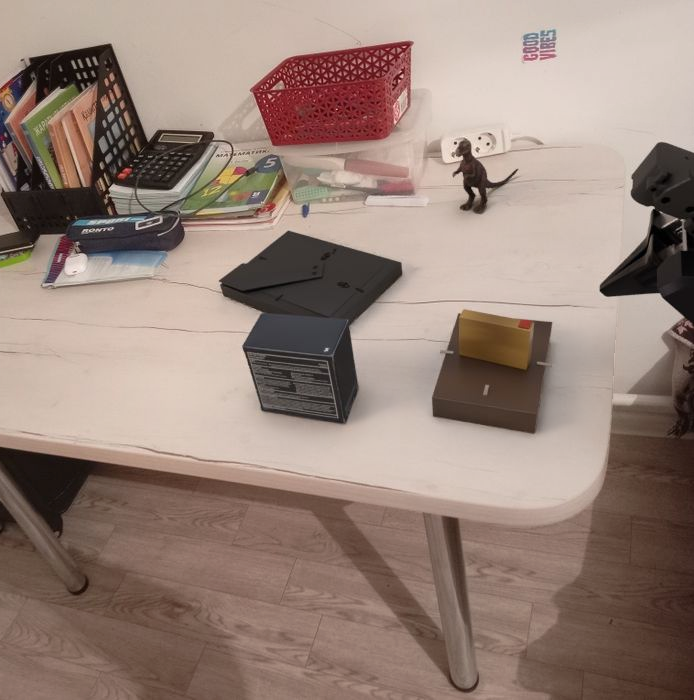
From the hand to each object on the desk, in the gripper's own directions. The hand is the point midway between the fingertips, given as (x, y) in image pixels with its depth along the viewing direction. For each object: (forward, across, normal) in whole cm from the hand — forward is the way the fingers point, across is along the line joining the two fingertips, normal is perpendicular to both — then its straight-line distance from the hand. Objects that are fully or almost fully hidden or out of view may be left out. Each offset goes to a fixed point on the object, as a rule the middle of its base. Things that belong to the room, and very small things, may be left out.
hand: (602, 291), depth 58 cm
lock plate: (+14, +2, +2) cm, 15 cm away
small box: (+28, +9, -11) cm, 32 cm away
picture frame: (+34, -12, -17) cm, 39 cm away
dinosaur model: (+19, -36, -3) cm, 41 cm away
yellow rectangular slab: (+12, +2, 0) cm, 12 cm away
